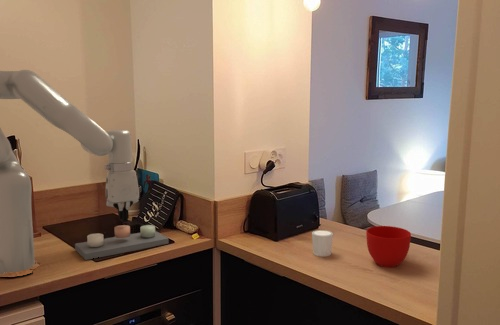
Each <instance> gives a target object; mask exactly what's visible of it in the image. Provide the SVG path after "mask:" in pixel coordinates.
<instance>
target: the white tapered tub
mask: <svg viewBox="0 0 500 325" xmlns="http://www.w3.org/2000/svg"><path fill="white" fill-rule="evenodd" d="M333 238H334V233H333V232H332V231H331V230H323V229H318V230H313V231H312V232H311V239H312V240H311V241H312V250H313V255H314V256H316V257H330V256H331V255H332V247H333V240H334V239H333Z"/></svg>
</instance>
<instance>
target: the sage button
mask: <svg viewBox="0 0 500 325" xmlns="http://www.w3.org/2000/svg"><path fill="white" fill-rule="evenodd" d="M139 229H140V230H139V231H140V232H139V233H140V235H141V237H145V238H148V237H153V236H155V231H156V226H155V225H152V224H145V225H141V226H140V228H139Z"/></svg>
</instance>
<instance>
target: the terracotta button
mask: <svg viewBox="0 0 500 325" xmlns="http://www.w3.org/2000/svg"><path fill="white" fill-rule="evenodd" d="M130 234H131V226H130V225H128V224H127V225H125V224H123V225H115V226H114V237H116V238H126V237H129V236H130Z"/></svg>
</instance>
